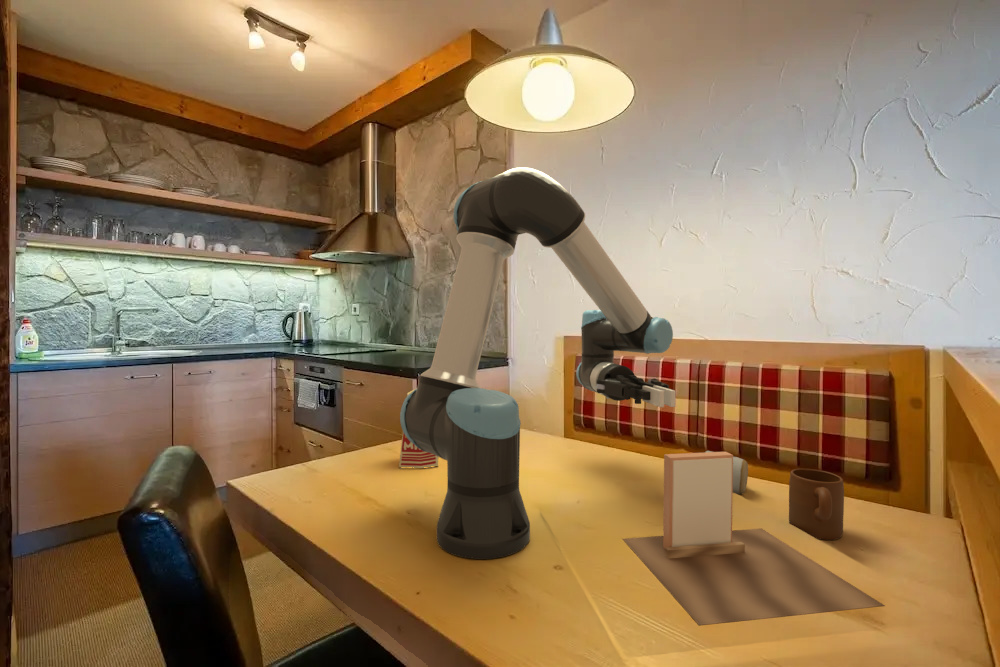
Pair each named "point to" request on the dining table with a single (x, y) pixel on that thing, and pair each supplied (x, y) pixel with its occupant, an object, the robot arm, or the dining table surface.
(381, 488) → the dining table surface
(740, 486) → the ceramic mug
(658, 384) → the robot arm
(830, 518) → the mug
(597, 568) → the dining table surface
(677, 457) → the tile
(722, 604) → the board
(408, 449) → the milk carton
